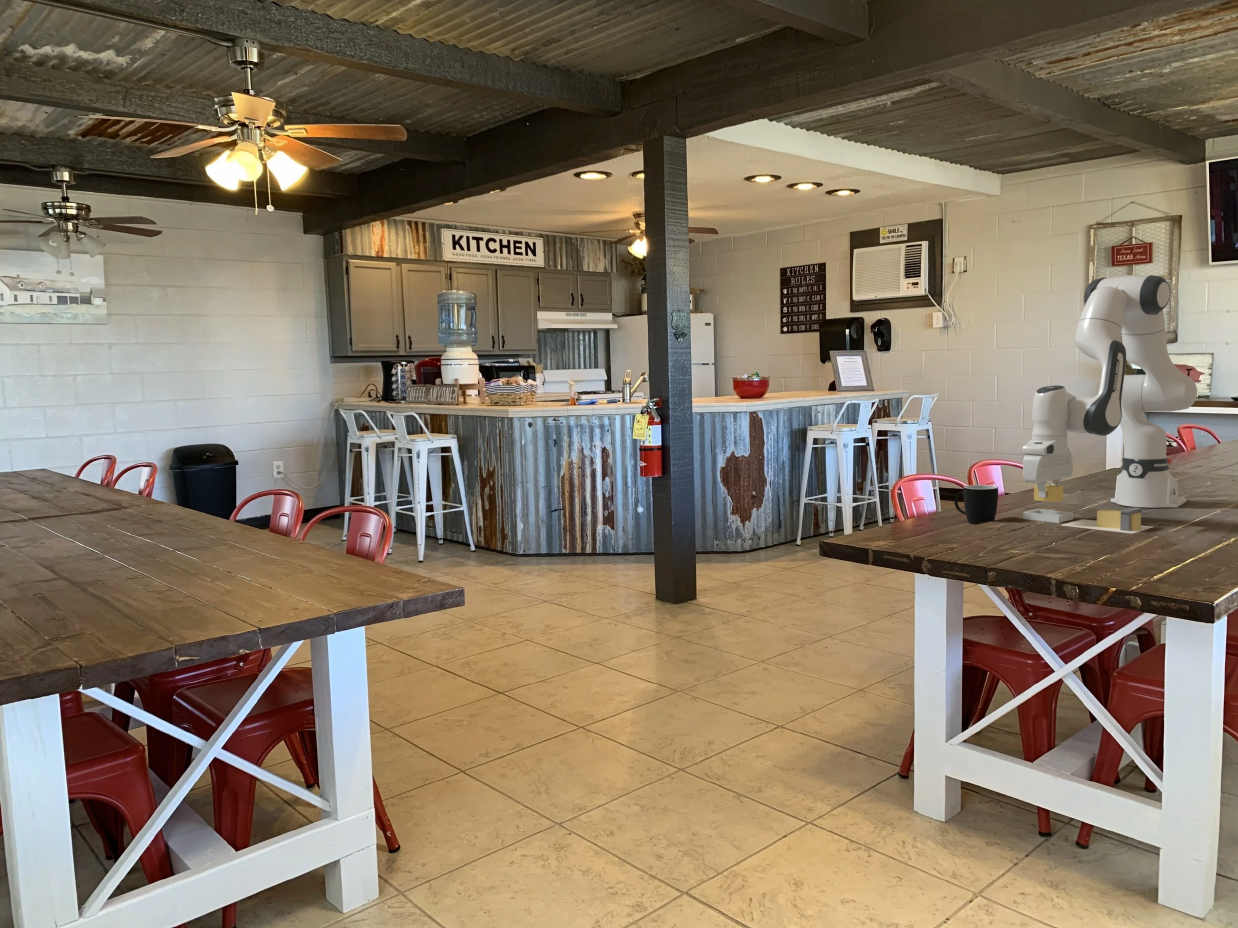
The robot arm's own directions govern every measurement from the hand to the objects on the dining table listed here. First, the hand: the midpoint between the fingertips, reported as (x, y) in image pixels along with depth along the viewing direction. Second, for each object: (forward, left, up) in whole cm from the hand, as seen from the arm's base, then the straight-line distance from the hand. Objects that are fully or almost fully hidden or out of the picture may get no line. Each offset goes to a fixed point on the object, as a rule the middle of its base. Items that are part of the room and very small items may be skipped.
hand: (1048, 496), depth 250 cm
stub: (0, 0, -1) cm, 1 cm away
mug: (+11, -15, -8) cm, 20 cm away
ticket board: (+1, +16, -8) cm, 18 cm away
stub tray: (0, 0, -8) cm, 8 cm away
